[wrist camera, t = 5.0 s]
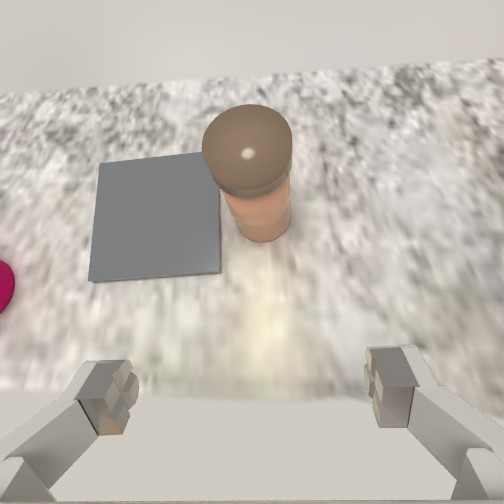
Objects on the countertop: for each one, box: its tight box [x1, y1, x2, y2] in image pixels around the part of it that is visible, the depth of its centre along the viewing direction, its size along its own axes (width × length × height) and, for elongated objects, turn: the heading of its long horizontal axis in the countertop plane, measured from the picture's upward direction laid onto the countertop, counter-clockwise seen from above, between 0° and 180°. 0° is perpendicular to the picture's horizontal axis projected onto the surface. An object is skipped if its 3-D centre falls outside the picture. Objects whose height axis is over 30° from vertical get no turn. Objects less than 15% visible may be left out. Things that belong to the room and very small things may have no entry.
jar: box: [202, 104, 292, 242], centre depth 24 cm, size 5×5×11 cm
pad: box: [88, 152, 221, 282], centre depth 30 cm, size 12×12×1 cm
